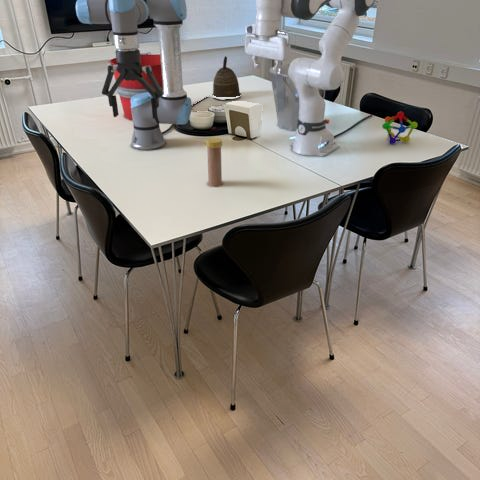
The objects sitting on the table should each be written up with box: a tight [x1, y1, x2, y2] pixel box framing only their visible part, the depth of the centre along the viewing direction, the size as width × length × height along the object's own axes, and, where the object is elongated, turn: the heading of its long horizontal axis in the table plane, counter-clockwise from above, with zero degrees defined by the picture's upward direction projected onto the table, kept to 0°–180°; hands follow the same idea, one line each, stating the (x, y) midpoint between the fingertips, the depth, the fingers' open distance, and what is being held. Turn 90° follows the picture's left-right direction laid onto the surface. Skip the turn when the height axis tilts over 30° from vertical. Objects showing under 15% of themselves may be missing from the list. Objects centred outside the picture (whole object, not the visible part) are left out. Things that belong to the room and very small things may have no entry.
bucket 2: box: [269, 63, 326, 131], centre depth 226 cm, size 30×30×28 cm
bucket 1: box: [106, 51, 163, 121], centre depth 240 cm, size 35×35×30 cm
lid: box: [205, 137, 223, 148], centre depth 162 cm, size 6×6×2 cm
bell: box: [212, 56, 242, 97], centre depth 278 cm, size 19×26×20 cm
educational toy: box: [382, 110, 418, 145], centre depth 207 cm, size 16×13×15 cm
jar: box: [206, 146, 223, 187], centre depth 166 cm, size 5×5×17 cm
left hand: (135, 116), depth 150 cm, fingers open, 13 cm apart
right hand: (266, 70), depth 162 cm, fingers open, 8 cm apart
